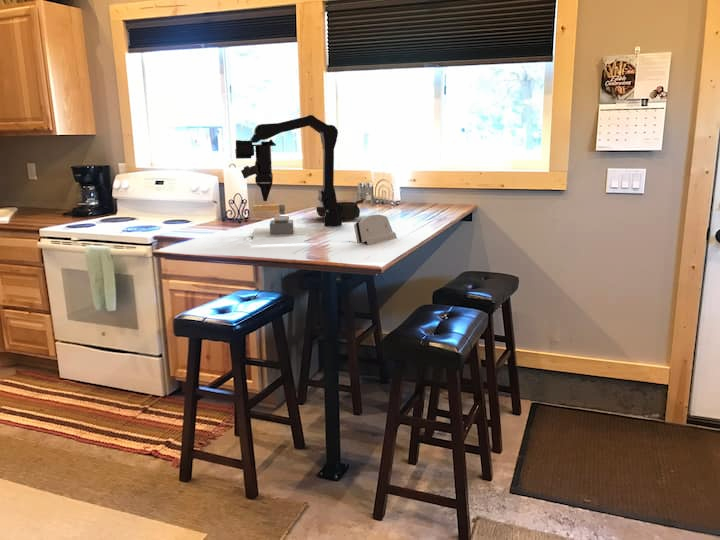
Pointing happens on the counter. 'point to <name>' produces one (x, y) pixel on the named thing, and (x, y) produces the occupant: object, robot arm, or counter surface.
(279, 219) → the pin
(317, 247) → the counter surface
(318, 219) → the counter surface
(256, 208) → the bar
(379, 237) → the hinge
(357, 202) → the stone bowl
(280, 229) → the block
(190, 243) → the counter surface
